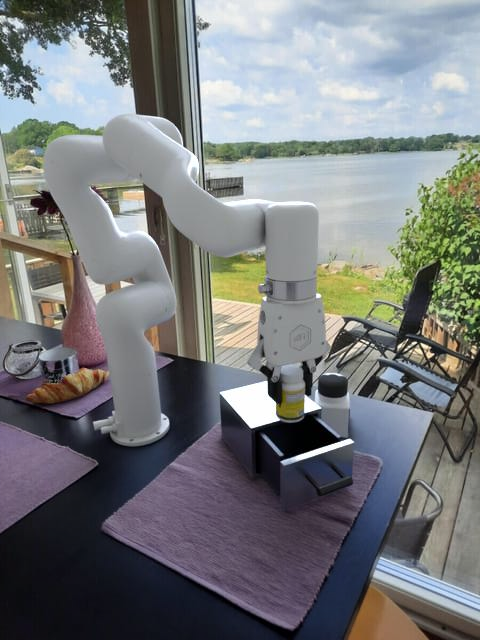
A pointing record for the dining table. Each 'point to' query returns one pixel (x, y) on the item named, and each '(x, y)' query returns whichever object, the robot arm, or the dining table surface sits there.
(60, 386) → the croissant
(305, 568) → the dining table surface
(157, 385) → the robot arm
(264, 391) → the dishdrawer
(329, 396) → the medicine bottle
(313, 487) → the drawer
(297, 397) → the supplement bottle
